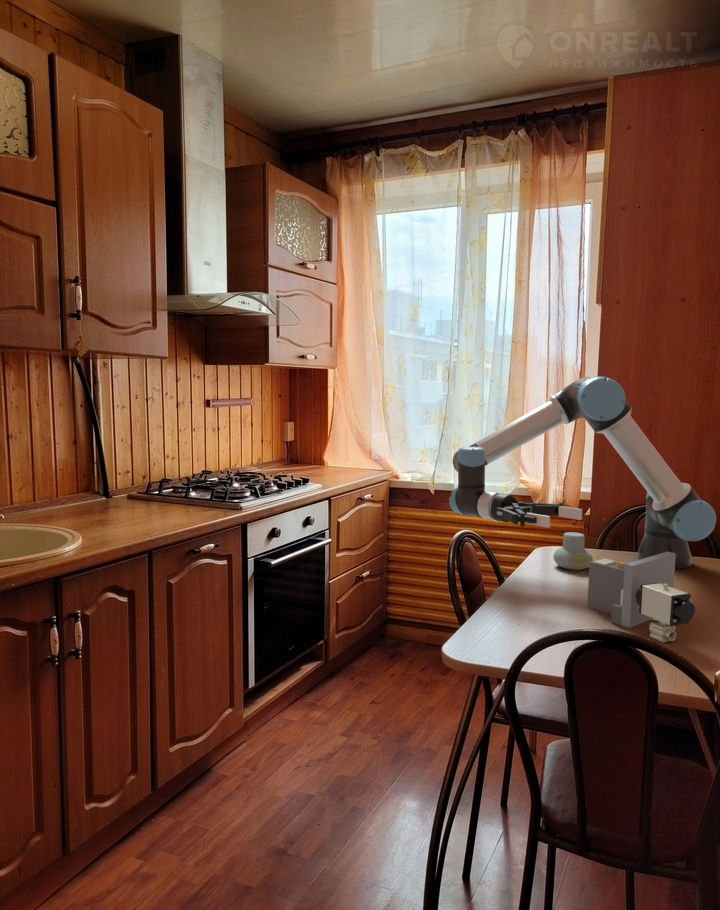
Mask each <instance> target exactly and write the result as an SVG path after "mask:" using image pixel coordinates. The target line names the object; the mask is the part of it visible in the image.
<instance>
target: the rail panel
mask: <svg viewBox="0 0 720 910" xmlns="http://www.w3.org/2000/svg"><path fill="white" fill-rule="evenodd" d="M675 556H676V553H672V552H664V553H661V554H657V555H654V556H650V557H647V558H644V559H640V560H637V559H636V560H634V561H630V562H625V563H626V564H625V567H624V585H623V590H621V600H620V605H618V604H614V605H612V614H610V615H611V616H610V617H611V620H610V623H612V624H615V625H618V626H622V627H625V628H629V629H630V628H634V627H636V626H638V625H640V624H643V623H646V622H648V621H650V620H653V618H651V617H648V616H646V615H643V614H641V613H639V605H638V604H637V602H636V599H635V596H636V592H637V591H638V589H639V588H640V586H641V585H642V584H650V583H659V584H662V585H663V584H668V587H671V588H672V587H673V588H675V587H674V584H675V571H676V568H675Z"/></svg>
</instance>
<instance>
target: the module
mask: <svg viewBox="0 0 720 910" xmlns="http://www.w3.org/2000/svg"><path fill="white" fill-rule="evenodd" d="M626 563H627V562H625V561H619V562H617V561H616V560H612V559H609V558H601V559H597V560H593V561H592V562H590V566H589V568H588V569H589V570H588V588H587V608H589V609H592V610H593V609H594V610H597V611H600V612H604V613H606V614H610V615H611V614H612V605H614V604H618V605H620V600H621V590H623V585H624V567H625V564H626Z"/></svg>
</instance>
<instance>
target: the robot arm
mask: <svg viewBox="0 0 720 910" xmlns="http://www.w3.org/2000/svg"><path fill="white" fill-rule="evenodd" d="M626 398H627V397H626V393H625V390H624V388H623V387H622V385H621V384H620V383H619V382H617V381H616V380H614V379H613V378H610V377H608V376H602V375H599V376H596V375H595V376H584V377H581V378H578V379H576V380H574V381H573V382H571V383H570V384H568V385H566V386H565V387H564V388H562V389H561V390H559V391H557V392H556V393H554V394H552V395H551V396H550V397H549V399H548V401H547V402H545V403H544V404H541V405H540V406H538V407H536V408H534V409H533V410H531V411H528V412H527V413H526V414H524V415H522V416H520V417H519V418H517V419H515V420H514V421H512V422H510V423H508V424H506V425H505V426H502V427H500V428H499V429H497V430H496V431H494V432H492V433H490V434H488V435H487V436H485V437H483V438H481V439H479V440H478V441H476V442H474V443H473V444H471V445H468V446H462V447H460V448H458V450H457V451H455V453H454V454H453V456H452V464H453V465H452V466H453V469H454V470H455V471H456V472H457V478H458V480H457V481H458V482H457V487H456V488H454V489H453V490H452V492H450V497H449V502H448V503H449V507H450V508H451V510H452V511H453V512H454V513H457V514H460V515H463V516H466V517H474V518H480V519H485V520H486V519H487V521H488V522H492V521H496V522H502V523H506V524H507V523H512V525H513V524H514V525H519V527H525V526H526V525H529V526H530V525H531V526H537V527H543V528H547V529H548V528H551V516H558V517H560V518H567V519H572V520H578V521H582V519H583V508H577V507H571V506H564V503H562V502H559V503H543V502H531V501H527V502H523V501H519V502H518V501H517V499H516V498H515V496H514V495H511V494H506V493H501V492H494V491H487V490H486V483H485V482H486V467H487V466H488V465H490V464H491V463H493V462H494V461H497V460H498V459H500V458H502V457H503V456H505V455H508V454H509V453H511V452H513V451H515V450H517V449H518V448H520V447H522V446H523V445H526V444H527V443H529V442H531V441H532V440H534V439H537V438H538V437H540V436H542V435H544V434H546V433H547V432H549V431H550V430H552V429H555V428H556V427H557V426H561V424H564V425H569V424H571V423H572V422H574V421H577V420H579V419H583V418H584V420H585V421H586V422H587V423H588V425H589V426H590V428H592V430H593V432H595V433H596V434H603V435H604V436H605V438H606V439H607V440H608V442H609V443H610V444H611V445H612V448H614V449H615V451H616V452H617V454H618V455H619V456H620V458H621V459H622V460H623V461H624V463H625V464H626V465H627V467H628V468H629V469H630V471H631V472H632V473H633V474H634V476H635V477H636V479H637V480H638V481H639V482H640V485H642V487H643V488H644V490H645V491H646V497H645V500H646V501H645V521H644V534H643V537H642V540H641V542H640V545H639V548H638V550H637V553H636V554H637V555H636V561H637V560H640V559H644V558H647V557H650V556H654V555H657V554H661V553H664V552H672V553H676V556H675V569H686V568H689V567H691V566H692V563H693V562H692V559H693V558H692V554H691V551H690V547H689V543H688V542H698V541H701V540H704V539H705V538H708V536H709V535H710V534H711V533H712V532H713V531H714V529H715V527H716V522H717V515H716V512H715V509H714V508H713V506H712V505H711V504H709V503H708V502H707V501H705V500H702V499H701V498H700V496H699V495H698V494H697V492H696V491H695V490H694V488H693V487H692V486H691V484H689V483H686V482H681V481H680V479H679V478H678V476H677V475H676V474H675V473H674V472H673V470H672V468H670V466H669V465H668V463H667V462H666V461H665V460H664V458H663V457H662V456H661V454H660V453H659V451H657V449H656V447H655V446H654V445H653V443H652V442H651V441H650V440H649V438H648V437H647V435H645V433H644V432H643V430H642V429H641V428H640V426H639V425H638V424H637V422H636V421H635V420H634V419H633V417H632V416H631V414H632V409H633V408H632V406H631V405H630V403H629V402H628V401H627V400H626ZM485 490H486V491H485Z"/></svg>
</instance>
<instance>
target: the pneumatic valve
mask: <svg viewBox="0 0 720 910" xmlns="http://www.w3.org/2000/svg"><path fill="white" fill-rule="evenodd" d="M691 596H692V595H691V593H688V592H686V591H682V590H680V589H678V588H675V587H674V588H673V587H672V588H671V587H668V584H663V585H662V584H659V583H650V584H642V585H641V586H640V588H639V589H638V591H637V592H636V596H635V599H636V602H637V604H638V605H639V613H641V614H643V615H646V616H648V617H651V618H653V619H652V620H653V621H652V622H650V624H649V628H648V630H649V632H650V634H649V637H650V638H651V639H654V640H655V641H657V642H660V643H662V644H664V643H666V642H675V640H676V638H677V632H676V631H675V630H676V626H682V625H688V624H689V623H690V622H691V621H692V619H693V618H694V617H695V613H696V606H695V605H694V603H693V602H692V599H691ZM654 621H656V622H654ZM657 621H658V622H657Z"/></svg>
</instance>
